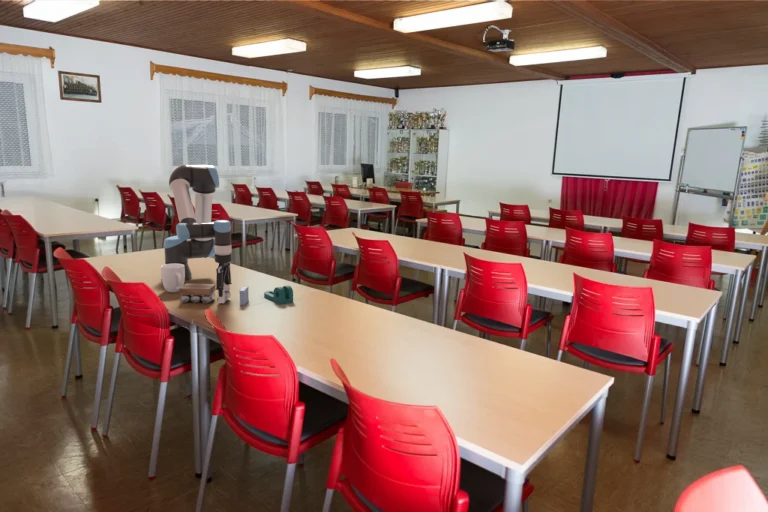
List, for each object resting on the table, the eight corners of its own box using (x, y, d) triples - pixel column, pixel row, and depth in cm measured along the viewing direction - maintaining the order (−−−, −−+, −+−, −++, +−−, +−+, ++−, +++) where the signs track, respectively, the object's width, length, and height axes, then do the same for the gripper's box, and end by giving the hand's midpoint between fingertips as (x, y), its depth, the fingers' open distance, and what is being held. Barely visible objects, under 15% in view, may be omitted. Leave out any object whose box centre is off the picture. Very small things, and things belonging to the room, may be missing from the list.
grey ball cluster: (186, 298, 247) (186, 290, 246) (215, 299, 247) (215, 291, 247) (180, 302, 239) (179, 294, 239) (210, 304, 239) (209, 295, 239)
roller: (222, 298, 247) (222, 290, 246) (231, 298, 247) (230, 290, 246) (217, 303, 239) (216, 295, 239) (226, 303, 239) (225, 295, 239)
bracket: (293, 302, 247) (293, 287, 246) (281, 305, 243) (281, 289, 241) (273, 294, 260) (273, 279, 258) (261, 296, 255) (261, 281, 254)
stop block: (244, 300, 247) (244, 286, 246) (248, 300, 247) (248, 286, 246) (239, 305, 240) (239, 290, 238) (244, 305, 240) (243, 290, 238)
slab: (186, 289, 247) (186, 283, 246) (215, 290, 247) (215, 284, 246) (179, 294, 238) (179, 288, 237) (209, 295, 238) (209, 289, 238)
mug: (192, 293, 256) (191, 267, 253) (170, 296, 248) (169, 270, 246) (180, 286, 266) (179, 262, 264) (158, 290, 259) (157, 265, 256)
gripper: (221, 249, 249) (223, 294, 253) (207, 257, 228) (209, 306, 233) (237, 249, 249) (238, 294, 253) (224, 258, 229) (225, 307, 233)
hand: (224, 300), depth 243 cm, fingers closed on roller, 8 cm apart
